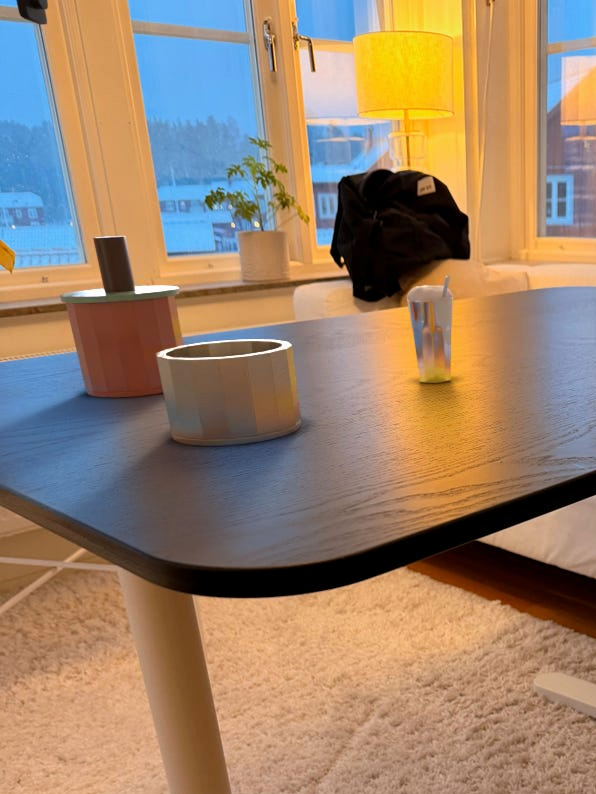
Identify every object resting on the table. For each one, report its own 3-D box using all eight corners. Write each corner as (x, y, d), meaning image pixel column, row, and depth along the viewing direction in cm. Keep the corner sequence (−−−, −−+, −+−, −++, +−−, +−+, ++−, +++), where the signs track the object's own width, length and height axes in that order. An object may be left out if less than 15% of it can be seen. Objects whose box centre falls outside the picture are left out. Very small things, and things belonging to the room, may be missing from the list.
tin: (152, 448, 69) (135, 361, 66) (196, 418, 78) (182, 341, 75) (284, 443, 68) (272, 356, 65) (312, 415, 77) (303, 337, 75)
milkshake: (435, 387, 87) (428, 277, 83) (404, 381, 91) (396, 276, 86) (471, 380, 90) (466, 274, 85) (439, 374, 93) (433, 272, 89)
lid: (41, 311, 85) (24, 241, 82) (92, 300, 95) (78, 237, 93) (157, 307, 85) (143, 236, 82) (195, 296, 95) (185, 232, 92)
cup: (69, 399, 89) (46, 304, 85) (111, 380, 99) (93, 294, 95) (169, 395, 89) (151, 300, 85) (203, 377, 98) (187, 290, 94)
